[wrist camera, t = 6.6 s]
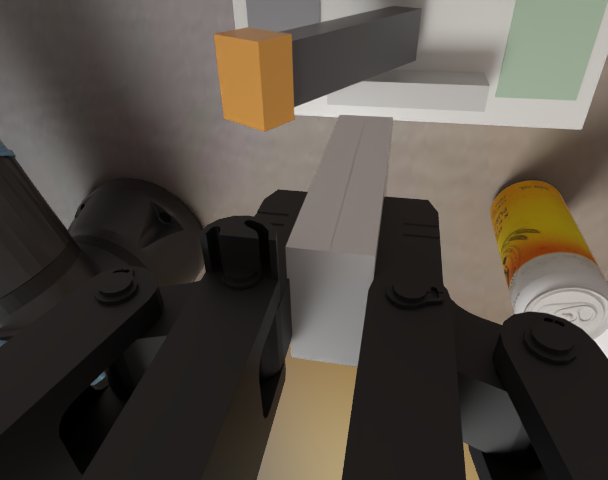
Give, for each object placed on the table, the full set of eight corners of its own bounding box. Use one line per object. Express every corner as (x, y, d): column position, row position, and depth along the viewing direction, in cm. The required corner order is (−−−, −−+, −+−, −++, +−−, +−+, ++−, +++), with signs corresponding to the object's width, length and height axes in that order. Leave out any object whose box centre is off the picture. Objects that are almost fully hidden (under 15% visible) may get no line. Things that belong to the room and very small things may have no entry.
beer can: (482, 186, 42) (509, 293, 30) (555, 167, 40) (615, 274, 28) (496, 239, 45) (525, 356, 33) (565, 224, 42) (624, 344, 30)
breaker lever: (383, 61, 31) (224, 118, 22) (388, -2, 29) (213, 33, 20) (420, 68, 29) (264, 131, 21) (428, 1, 27) (258, 41, 18)
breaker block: (267, 86, 41) (230, 126, 33) (257, -78, 34) (207, -78, 26) (556, 97, 36) (595, 147, 28) (610, -87, 30) (682, -90, 22)
